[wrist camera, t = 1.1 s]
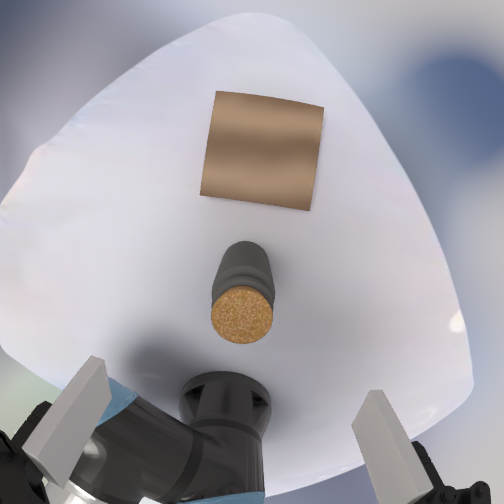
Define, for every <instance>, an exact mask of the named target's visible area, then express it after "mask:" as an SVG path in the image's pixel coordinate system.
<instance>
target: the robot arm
mask: <svg viewBox="0 0 504 504" xmlns="http://www.w3.org/2000/svg"><path fill="white" fill-rule="evenodd" d="M179 410H180V416H181V422H180V421H179V420H177V419H175V418H174V417H172V416H170V415H168V414H167V413H165V412H163V411H162V410H160V409H159V408H157V407H155V406H154V405H152V404H151V403H149V402H148V401H146V400H144V399H143V398H141V397H140V396H138V394H137V393H136V392H135V391H131V390H129V389H127V388H126V387H124V386H123V385H121V384H120V383H118V382H117V381H115V380H114V379H112V378H110V377H107V372H106V367H105V362H104V359H101V358H98V357H95V356H90V358H89V359H88V360H87V361H86V362H85V364H84V365H83V366H82V367H81V369H80V370H79V371H78V372H77V374H76V375H75V376H74V377H73V379H72V380H71V381H70V382H69V384H68V385H67V386H66V388H65V389H64V390H63V391H62V393H61V394H60V395H59V397H58V398H57V399H56V401H55V402H54V403H53V404H51V403H49V402H47V401H45V402H43V403H41V404H39V405H37V406H36V408H35V409H34V410H33V412H32V413H31V415H29V417H28V418H27V420H25V422H24V423H23V424H22V426H21V427H20V428H19V430H18V431H17V432H16V434H15V435H14V437H13V438H12V440H10V439H9V438H8V436H7V435H6V434H5V433H4V432H3V431H1V430H0V504H139V502H140V501H141V499H142V498H143V497H147V498H149V499H152V500H154V501H157V502H159V503H162V504H264V497H265V488H264V473H263V457H262V437H263V435H264V432H265V430H266V427H267V425H268V422H269V420H270V416H271V402H270V397H269V395H268V393H267V391H266V390H265V389H264V388H263V387H262V386H261V385H260V384H259V383H258V382H256V381H255V380H253V379H251V378H249V377H246V376H244V375H240V374H237V373H231V372H210V373H205V374H202V375H199V376H197V377H195V378H193V379H192V380H190V381H189V382H188V383H187V384H186V385H185V387H184V388H183V390H182V393H181V397H180V400H179ZM352 428H353V431H354V433H355V436H356V439H357V442H358V445H359V447H360V450H361V453H362V456H363V458H364V461H365V464H366V467H367V470H368V473H369V476H370V479H371V481H372V484H373V487H374V490H375V493H376V496H377V499H378V502H379V504H491V496H490V488H489V486H488V484H487V483H485V482H483V481H478V482H476V483H475V484H473V485H472V486H471V487H470V488H466V489H459V490H456V489H455V488H454V487H451V486H445V485H444V484H443V482H442V480H441V478H440V476H439V474H438V472H437V471H436V469H435V467H434V465H433V463H431V459H430V457H428V454H427V452H426V450H425V448H424V447H423V446H422V445H421V444H420V443H419V442H418V441H414V442H410V440H409V438H408V436H407V434H406V432H405V430H404V428H403V427H402V425H401V423H400V421H399V419H398V417H397V416H396V414H395V412H394V410H393V408H392V406H391V405H390V403H389V401H388V399H387V398H386V396H385V394H384V392H383V390H372V391H369V393H368V395H367V397H366V399H365V401H364V403H363V405H362V407H361V409H360V411H359V412H358V414H357V416H356V418H355V420H354V421H353V423H352ZM43 476H44V477H45V478H46V479H47V480H48V483H47V485H46V487H44V484H43V482H42V478H43Z"/></svg>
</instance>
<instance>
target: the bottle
mask: <svg viewBox="0 0 504 504" xmlns="http://www.w3.org/2000/svg"><path fill="white" fill-rule="evenodd" d="M274 299H275V289H274V284H273V279H272V274H271V270H270V266H269V262H268V258H267V255H266V253H265V252H264V250H263V249H262V248H261V247H260V246H258V245H257V244H255V243H252V242H247V241H243V242H238V243H236V244H234V245H232V246H231V247H229V248H228V250H227V251H226V252H225V254H224V256H223V259H222V261H221V264H220V266H219V269H218V272H217V275H216V277H215V280H214V283H213V287H212V312H211V320H212V324H213V326H214V328H215V330H216V331H217V333H218V334H219V335H220V336H221V337H223V338H224V339H226V340H228V341H230V342H233V343H238V344H247V343H252V342H255V341H257V340H259V339H261V338H262V337H263V336H265V335H266V333H267V332H268V331H269V329H270V328H271V325H272V321H273V303H274Z"/></svg>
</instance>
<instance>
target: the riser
mask: <svg viewBox="0 0 504 504" xmlns="http://www.w3.org/2000/svg"><path fill="white" fill-rule="evenodd" d="M323 113H324V107H320V106H315V105H311V104H306V103H301V102H296V101H291V100H285V99H279V98H273V97H267V96H260V95H252V94H244V93H235V92H224V91H216V95H215V101H214V106H213V112H212V117H211V123H210V129H209V135H208V141H207V148H206V154H205V161H204V168H203V175H202V182H201V190H200V195H201V196H210V197H218V198H226V199H233V200H241V201H248V202H255V203H261V204H268V205H275V206H281V207H287V208H294V209H300V210H305V211H310V205H311V199H312V192H313V186H314V180H315V173H316V166H317V159H318V152H319V145H320V137H321V129H322V121H323Z"/></svg>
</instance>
